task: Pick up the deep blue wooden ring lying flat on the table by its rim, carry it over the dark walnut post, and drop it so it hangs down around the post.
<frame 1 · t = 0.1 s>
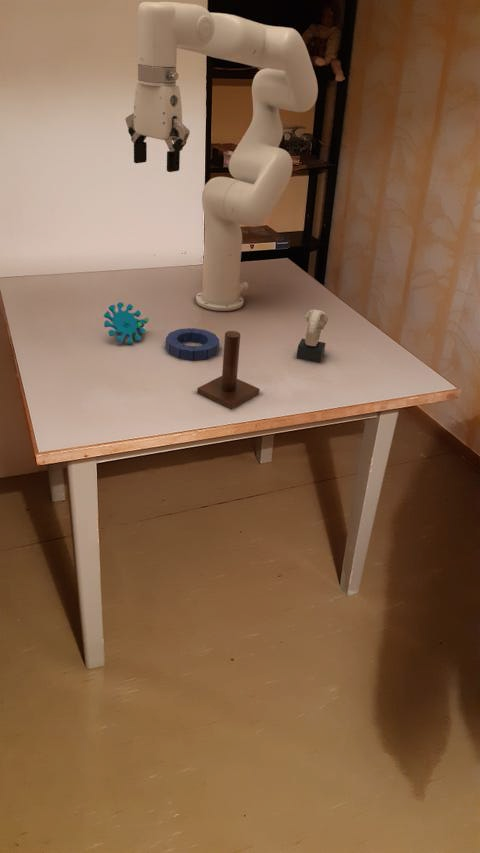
hand: (156, 166, 141), 37 cm above the table, tool pointing down, fingers open, 9 cm apart
ram head statue: (309, 357, 154), on the table
ring: (192, 348, 152), on the table
stand: (228, 393, 136), on the table
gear: (127, 338, 155), on the table
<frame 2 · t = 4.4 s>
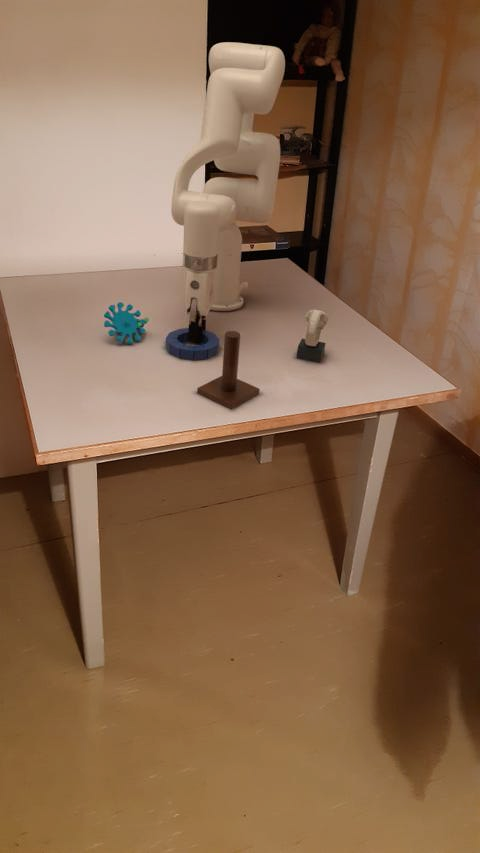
hand: (196, 337, 156), 1 cm above the table, tool pointing down, fingers closed on ring, 2 cm apart
ring: (192, 348, 152), on the table, touching gripper
everything else where it was.
when the fingers open (16 cm above the table, at t = 11.6 s): ring drops 14 cm, resting on stand.
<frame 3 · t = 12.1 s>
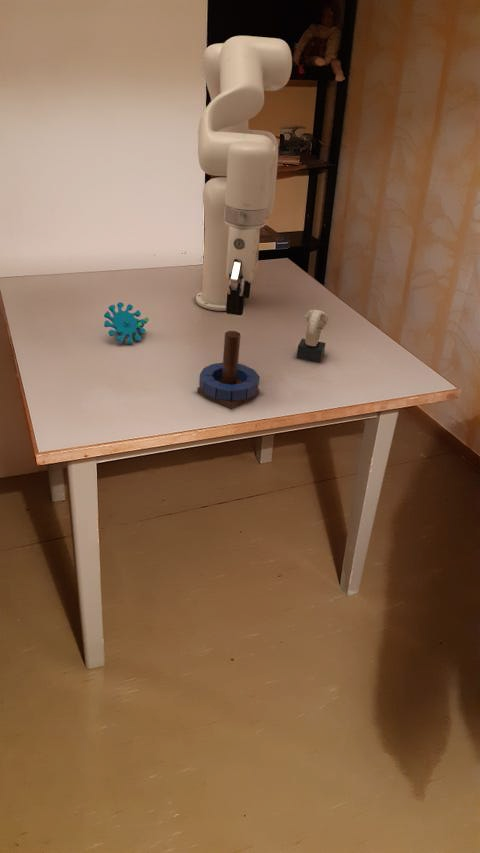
hand: (238, 305, 131), 17 cm above the table, tool pointing down, fingers open, 8 cm apart
ring: (229, 386, 136), point 1 cm above the table, touching stand
everything else where it was.
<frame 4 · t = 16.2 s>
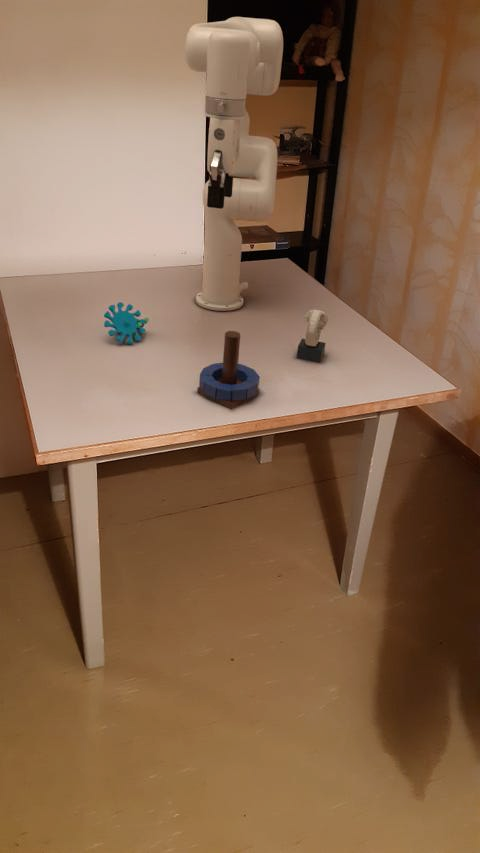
hand: (219, 201, 134), 33 cm above the table, tool pointing down, fingers open, 9 cm apart
nothing on the table moved.
at the end: ring 0.9 cm from the stand (horizontally); ring point 1.2 cm above the table; the gripper is holding nothing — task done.
